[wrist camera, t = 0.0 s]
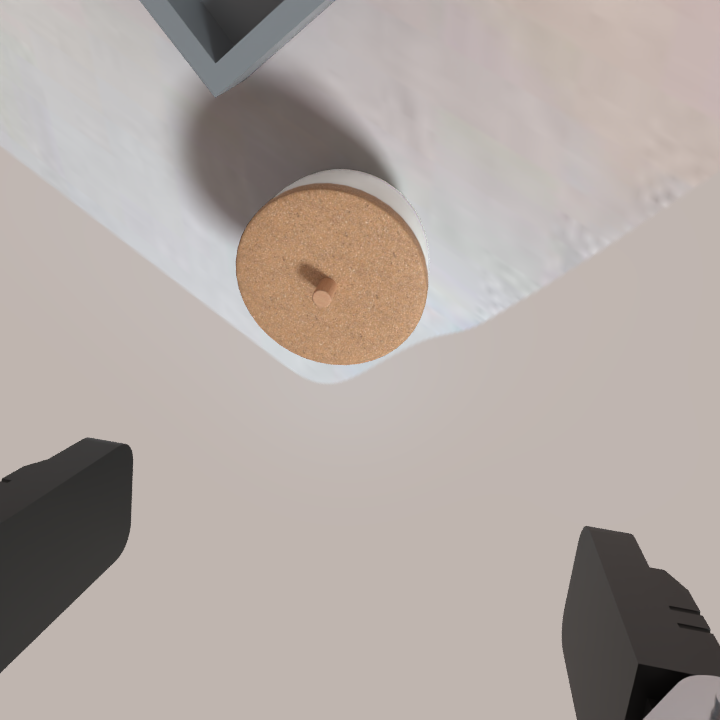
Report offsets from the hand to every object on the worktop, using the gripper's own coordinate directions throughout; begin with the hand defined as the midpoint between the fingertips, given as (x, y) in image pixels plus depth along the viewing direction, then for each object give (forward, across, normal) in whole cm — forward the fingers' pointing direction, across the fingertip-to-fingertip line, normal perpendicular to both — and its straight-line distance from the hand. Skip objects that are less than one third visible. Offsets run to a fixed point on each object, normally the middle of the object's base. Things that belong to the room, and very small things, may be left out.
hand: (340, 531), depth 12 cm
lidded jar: (+32, +6, -4) cm, 33 cm away
